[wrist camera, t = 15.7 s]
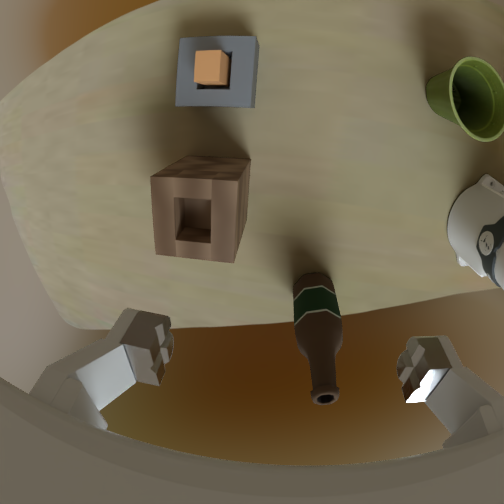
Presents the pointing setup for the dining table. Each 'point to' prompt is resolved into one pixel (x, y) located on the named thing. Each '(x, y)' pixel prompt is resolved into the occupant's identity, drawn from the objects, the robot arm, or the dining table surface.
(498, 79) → the plant pot
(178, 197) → the wood block with hole
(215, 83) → the peg
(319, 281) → the beer bottle
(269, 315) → the dining table surface
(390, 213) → the dining table surface
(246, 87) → the low socket
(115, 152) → the dining table surface
